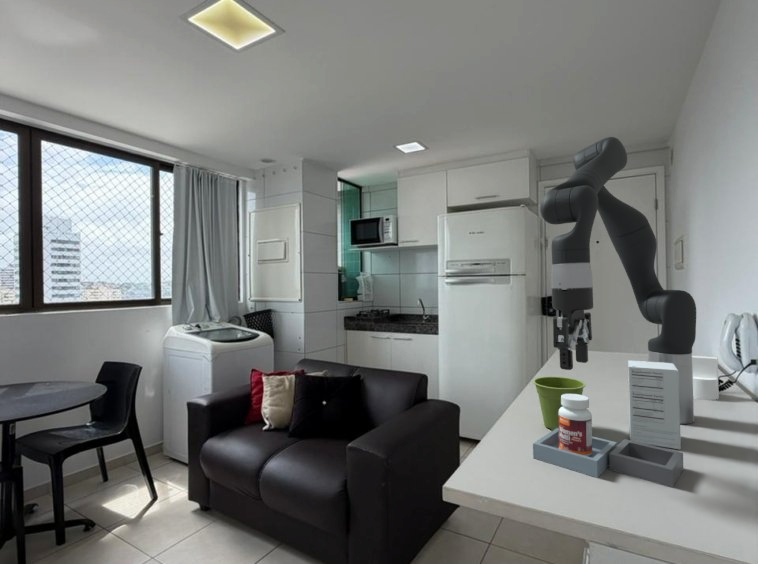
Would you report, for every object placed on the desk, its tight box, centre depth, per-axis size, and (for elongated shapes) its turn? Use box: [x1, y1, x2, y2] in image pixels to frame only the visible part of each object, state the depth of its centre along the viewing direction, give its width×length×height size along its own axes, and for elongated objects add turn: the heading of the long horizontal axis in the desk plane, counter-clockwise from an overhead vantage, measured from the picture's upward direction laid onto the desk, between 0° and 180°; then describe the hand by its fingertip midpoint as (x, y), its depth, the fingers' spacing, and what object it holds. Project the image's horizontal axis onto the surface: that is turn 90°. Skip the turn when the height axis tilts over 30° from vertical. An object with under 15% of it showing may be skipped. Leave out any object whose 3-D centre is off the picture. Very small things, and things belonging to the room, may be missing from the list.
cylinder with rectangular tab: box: [692, 355, 720, 401], centre depth 123 cm, size 9×9×12 cm
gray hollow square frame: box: [609, 438, 684, 488], centre depth 76 cm, size 10×10×3 cm
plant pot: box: [532, 376, 587, 431], centre depth 98 cm, size 12×12×11 cm
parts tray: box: [532, 428, 618, 479], centre depth 81 cm, size 12×12×3 cm
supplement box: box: [627, 360, 682, 451], centre depth 90 cm, size 10×9×17 cm
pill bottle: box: [558, 394, 593, 457], centre depth 81 cm, size 6×6×11 cm
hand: (574, 365), depth 81 cm, fingers open, 8 cm apart
